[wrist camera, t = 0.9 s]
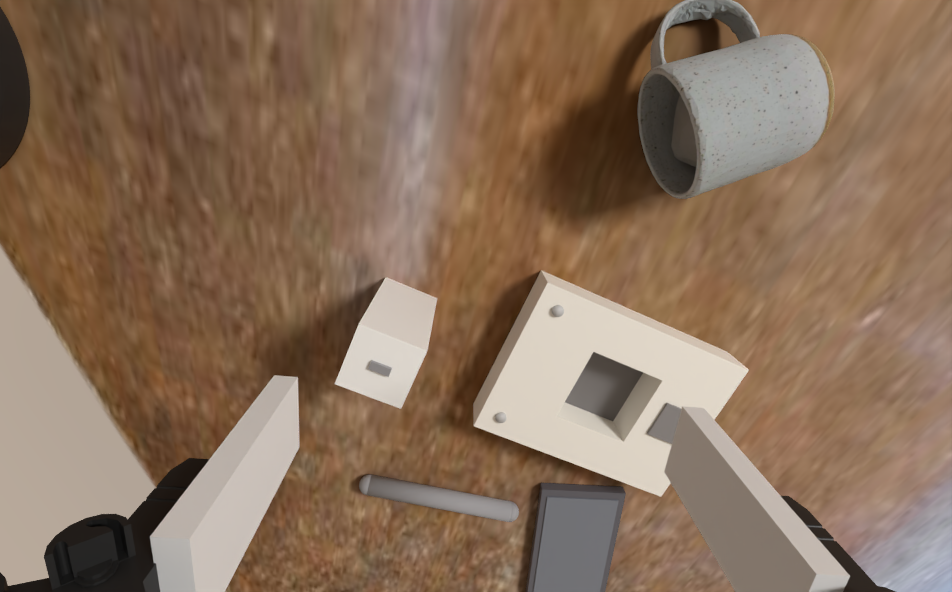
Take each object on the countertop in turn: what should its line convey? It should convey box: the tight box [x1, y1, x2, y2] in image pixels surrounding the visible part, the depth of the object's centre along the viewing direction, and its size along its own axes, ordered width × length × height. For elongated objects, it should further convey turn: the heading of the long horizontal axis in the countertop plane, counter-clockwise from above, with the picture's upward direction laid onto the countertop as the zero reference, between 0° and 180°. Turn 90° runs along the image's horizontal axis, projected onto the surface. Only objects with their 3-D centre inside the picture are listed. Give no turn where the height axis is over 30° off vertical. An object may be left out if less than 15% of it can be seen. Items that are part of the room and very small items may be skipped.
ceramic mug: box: [637, 0, 835, 199], centre depth 27 cm, size 11×8×8 cm
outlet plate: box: [473, 270, 749, 497], centre depth 36 cm, size 16×12×3 cm
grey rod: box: [359, 474, 519, 522], centre depth 40 cm, size 14×2×2 cm, turn 76°
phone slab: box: [526, 483, 626, 592], centre depth 42 cm, size 7×14×1 cm, turn 176°
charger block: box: [335, 277, 437, 409], centre depth 31 cm, size 4×4×9 cm
